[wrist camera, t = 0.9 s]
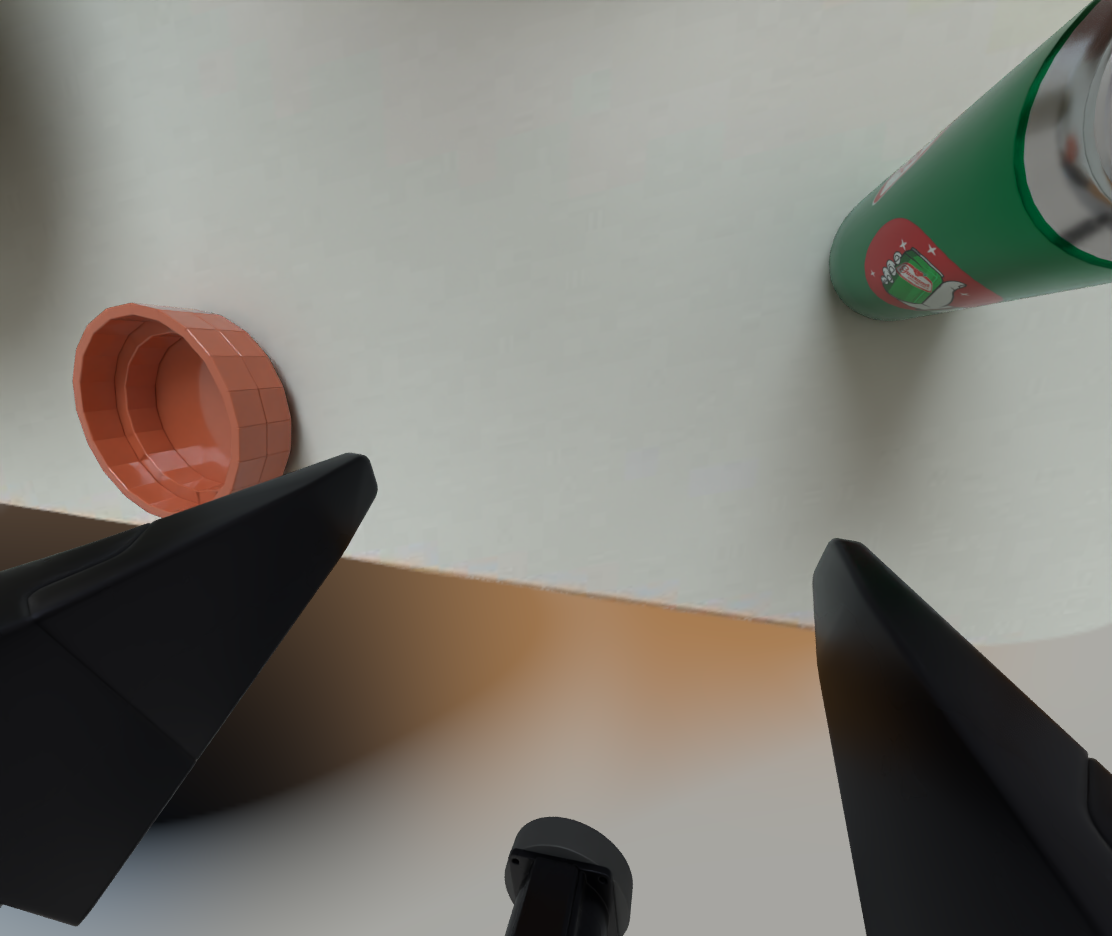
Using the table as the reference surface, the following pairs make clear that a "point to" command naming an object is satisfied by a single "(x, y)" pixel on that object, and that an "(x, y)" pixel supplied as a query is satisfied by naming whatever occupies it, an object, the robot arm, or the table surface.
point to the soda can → (996, 193)
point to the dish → (179, 406)
